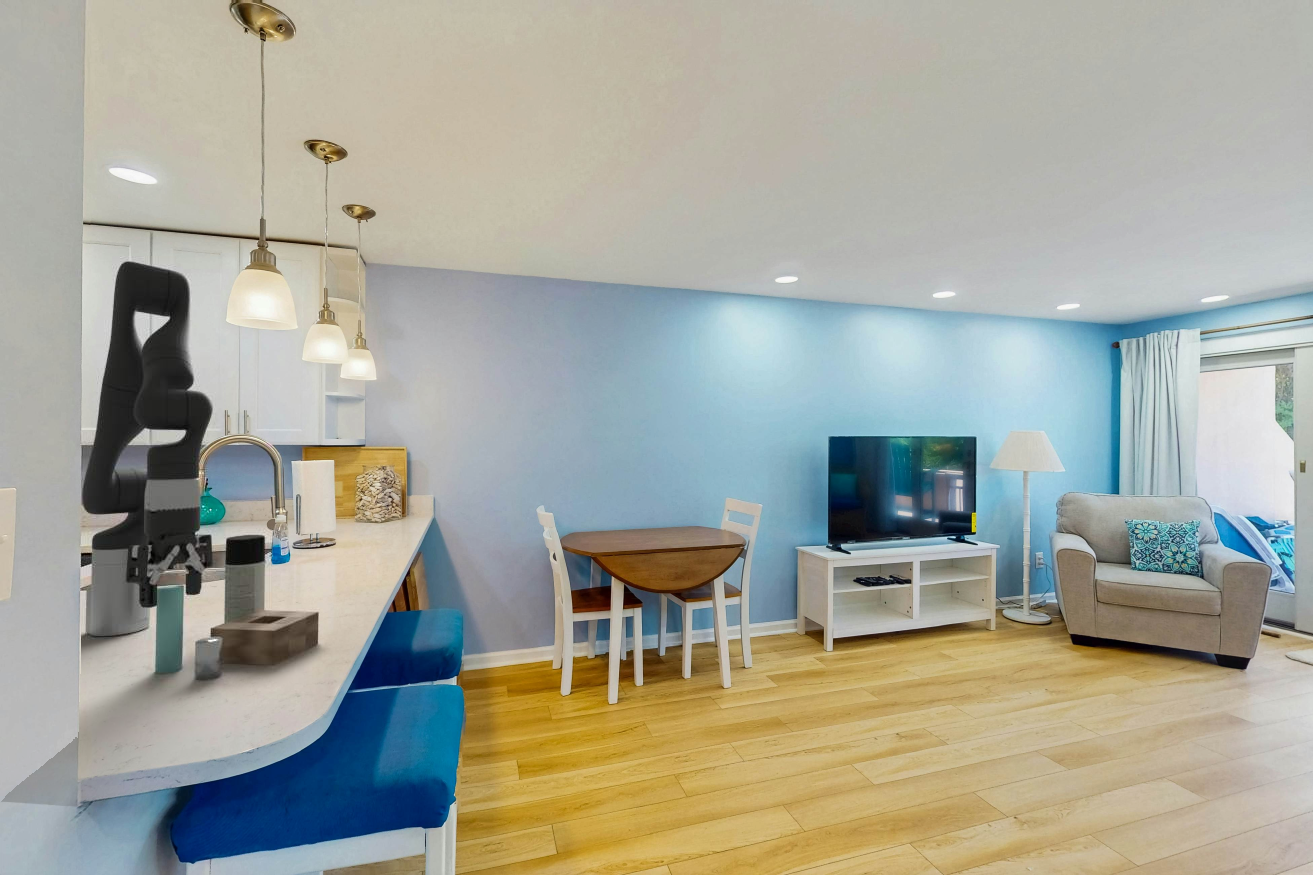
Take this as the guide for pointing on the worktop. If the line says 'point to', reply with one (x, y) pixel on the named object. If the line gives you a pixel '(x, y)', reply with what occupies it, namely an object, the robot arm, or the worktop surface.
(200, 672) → the short pin
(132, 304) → the robot arm
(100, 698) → the worktop surface
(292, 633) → the socket block
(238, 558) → the spray can
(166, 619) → the long pin
